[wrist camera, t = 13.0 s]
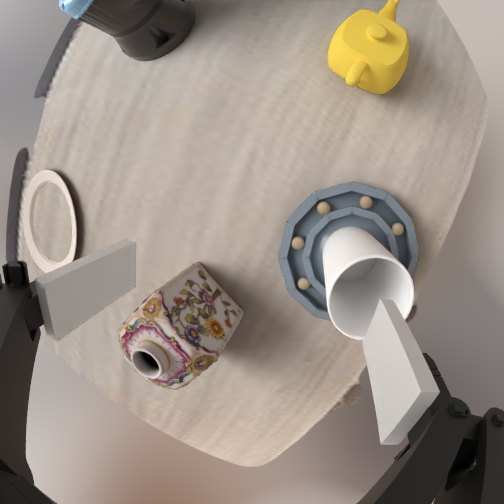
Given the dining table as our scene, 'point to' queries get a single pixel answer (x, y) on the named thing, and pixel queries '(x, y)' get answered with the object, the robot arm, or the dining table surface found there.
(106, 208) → the dining table surface
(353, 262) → the cup
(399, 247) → the tray
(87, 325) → the dining table surface
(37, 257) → the plate
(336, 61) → the teapot
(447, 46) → the dining table surface
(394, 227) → the beads
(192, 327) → the decorative jar
